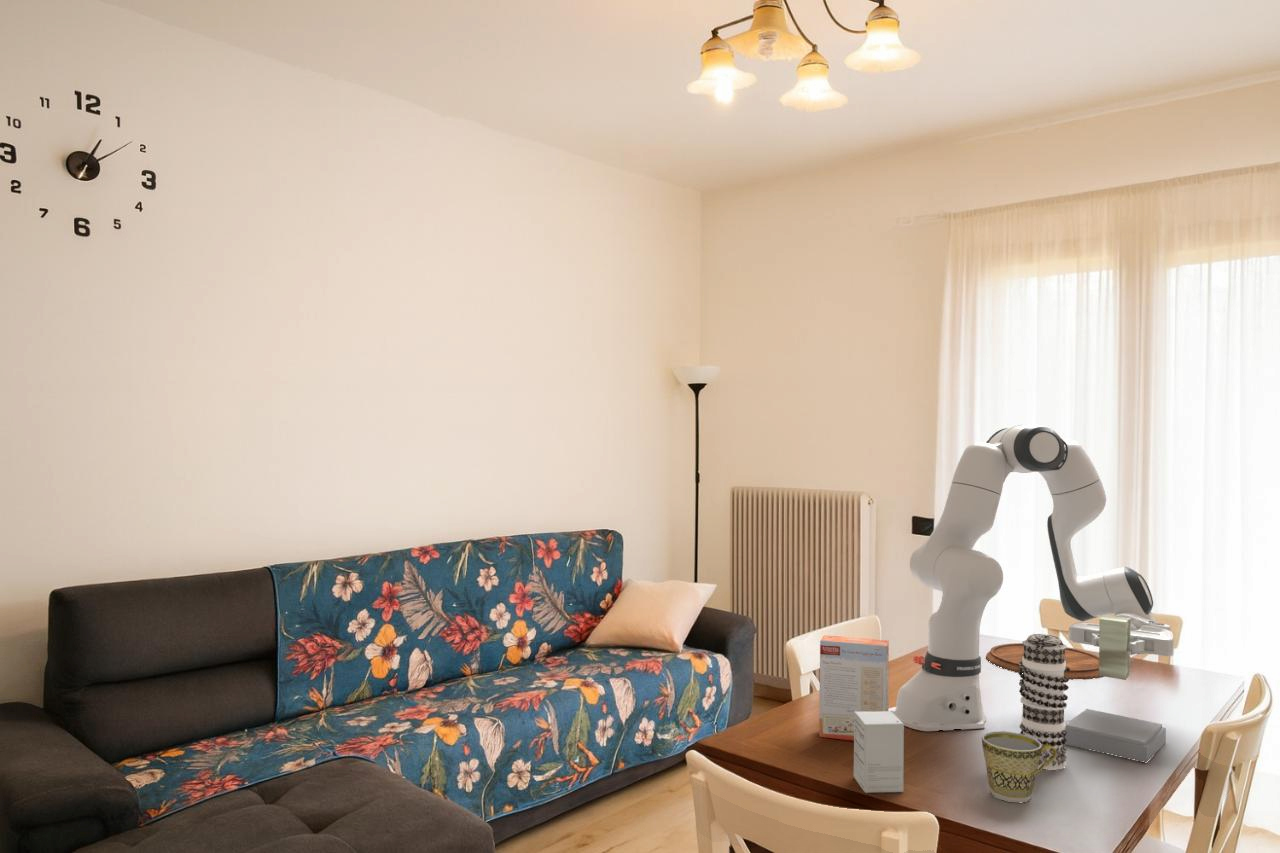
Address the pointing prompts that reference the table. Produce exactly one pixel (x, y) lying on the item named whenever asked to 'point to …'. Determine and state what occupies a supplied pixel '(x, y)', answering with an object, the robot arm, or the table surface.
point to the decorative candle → (1044, 695)
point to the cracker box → (851, 682)
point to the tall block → (1114, 647)
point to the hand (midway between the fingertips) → (1114, 645)
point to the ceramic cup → (1012, 764)
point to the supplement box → (878, 751)
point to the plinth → (1115, 734)
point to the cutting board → (1076, 660)
